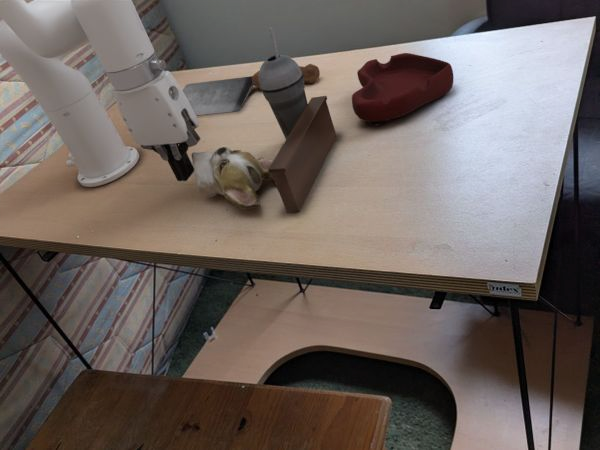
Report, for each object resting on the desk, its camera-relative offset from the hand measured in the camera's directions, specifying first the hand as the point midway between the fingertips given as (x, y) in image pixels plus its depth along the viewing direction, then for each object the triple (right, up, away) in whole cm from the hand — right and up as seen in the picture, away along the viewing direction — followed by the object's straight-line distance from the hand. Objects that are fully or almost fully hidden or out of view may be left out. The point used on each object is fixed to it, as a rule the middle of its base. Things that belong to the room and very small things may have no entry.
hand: (186, 175), depth 90 cm
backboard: (+21, 0, -4) cm, 21 cm away
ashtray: (+37, +13, +5) cm, 40 cm away
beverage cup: (+19, +6, +4) cm, 20 cm away
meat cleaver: (+6, +19, +28) cm, 34 cm away
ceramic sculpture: (+10, -3, -3) cm, 10 cm away
